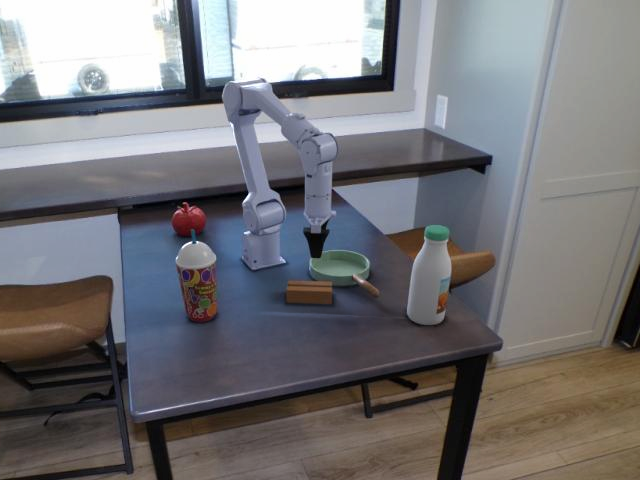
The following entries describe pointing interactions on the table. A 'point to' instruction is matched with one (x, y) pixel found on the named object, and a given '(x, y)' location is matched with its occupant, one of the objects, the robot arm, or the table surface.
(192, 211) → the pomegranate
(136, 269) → the table surface
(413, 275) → the milk bottle
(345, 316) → the table surface
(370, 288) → the pan handle
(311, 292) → the taped cardboard box
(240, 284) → the table surface
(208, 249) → the smoothie
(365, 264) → the pan
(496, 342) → the table surface
